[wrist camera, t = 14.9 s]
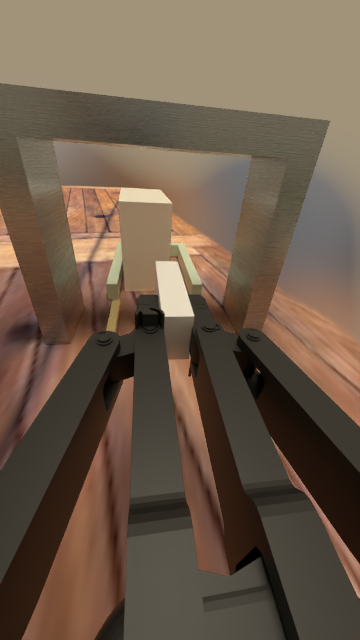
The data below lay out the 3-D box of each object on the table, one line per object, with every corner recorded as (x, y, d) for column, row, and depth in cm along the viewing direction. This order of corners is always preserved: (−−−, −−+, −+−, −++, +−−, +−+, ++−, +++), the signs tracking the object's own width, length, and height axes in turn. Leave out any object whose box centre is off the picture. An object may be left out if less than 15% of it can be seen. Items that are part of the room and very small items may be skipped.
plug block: (168, 290, 39) (172, 203, 31) (124, 291, 37) (118, 201, 30) (159, 258, 51) (160, 189, 44) (125, 258, 50) (121, 187, 42)
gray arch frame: (281, 374, 25) (400, 107, 13) (22, 387, 21) (-141, 38, 9) (238, 305, 36) (280, 130, 24) (65, 306, 33) (15, 102, 21)
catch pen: (200, 298, 37) (202, 284, 36) (108, 299, 35) (106, 283, 34) (182, 254, 54) (183, 243, 52) (119, 252, 52) (118, 241, 50)
